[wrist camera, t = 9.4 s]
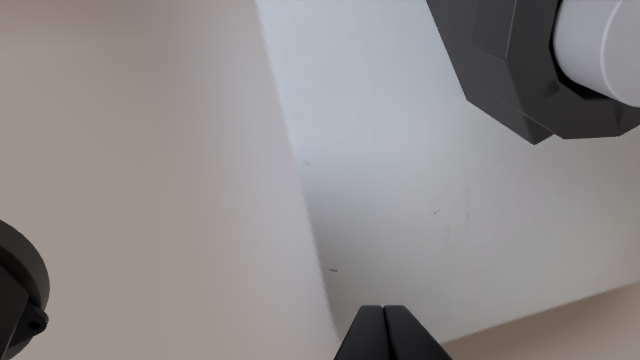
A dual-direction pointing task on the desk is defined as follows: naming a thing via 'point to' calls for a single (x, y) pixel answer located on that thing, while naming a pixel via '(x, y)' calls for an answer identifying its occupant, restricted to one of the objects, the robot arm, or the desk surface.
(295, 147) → the desk surface
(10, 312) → the robot arm
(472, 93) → the push button base
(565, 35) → the gray round disc
